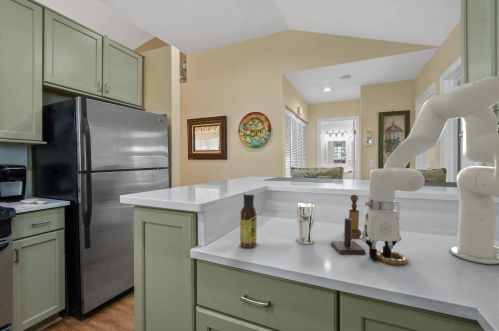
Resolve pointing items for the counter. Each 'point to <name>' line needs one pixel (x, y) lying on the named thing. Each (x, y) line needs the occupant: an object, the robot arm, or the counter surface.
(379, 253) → the ring
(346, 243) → the peg stand
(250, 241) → the sauce bottle
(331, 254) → the counter surface
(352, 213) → the brown knobbed post
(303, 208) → the beer glass
